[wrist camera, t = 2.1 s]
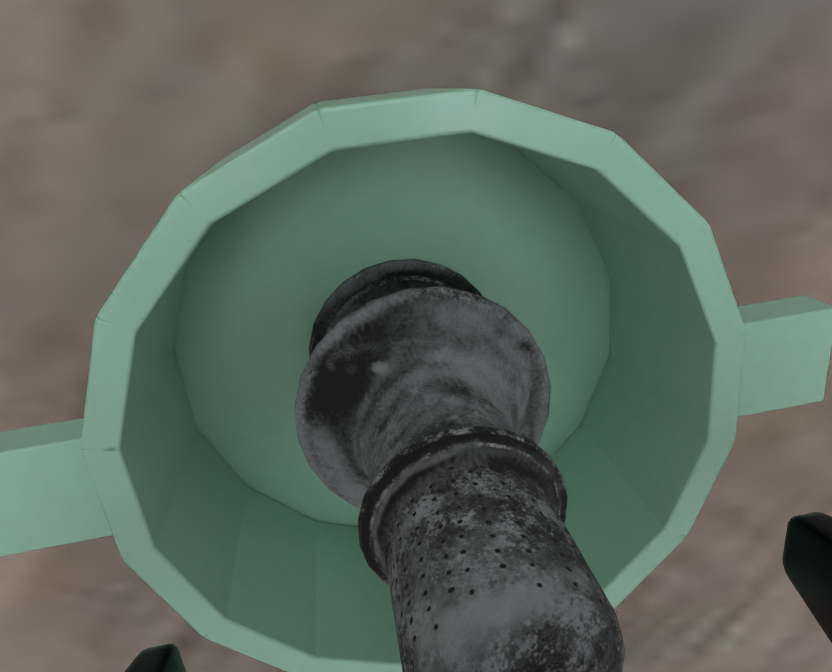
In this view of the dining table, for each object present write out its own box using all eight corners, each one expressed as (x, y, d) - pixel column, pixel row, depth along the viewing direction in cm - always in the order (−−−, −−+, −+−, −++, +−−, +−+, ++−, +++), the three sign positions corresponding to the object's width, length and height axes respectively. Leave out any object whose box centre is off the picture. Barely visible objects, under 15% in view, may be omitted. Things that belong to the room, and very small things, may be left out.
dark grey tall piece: (515, 419, 19) (808, 896, 8) (322, 461, 18) (339, 1037, 7) (496, 228, 16) (875, 517, 5) (274, 270, 16) (190, 684, 5)
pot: (698, 480, 21) (814, 597, 16) (131, 593, 19) (69, 764, 14) (731, 49, 16) (916, 32, 11) (-41, 146, 14) (-229, 176, 9)
